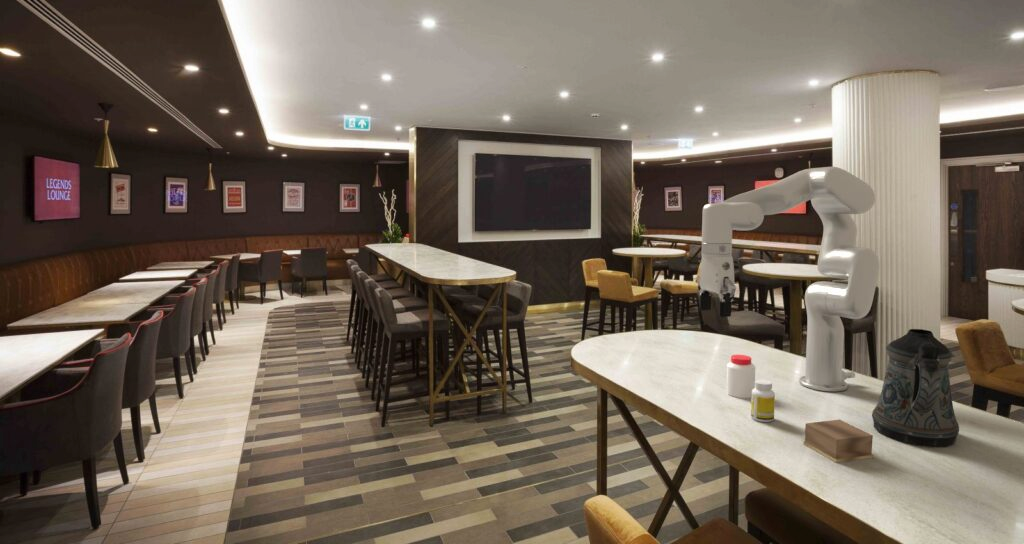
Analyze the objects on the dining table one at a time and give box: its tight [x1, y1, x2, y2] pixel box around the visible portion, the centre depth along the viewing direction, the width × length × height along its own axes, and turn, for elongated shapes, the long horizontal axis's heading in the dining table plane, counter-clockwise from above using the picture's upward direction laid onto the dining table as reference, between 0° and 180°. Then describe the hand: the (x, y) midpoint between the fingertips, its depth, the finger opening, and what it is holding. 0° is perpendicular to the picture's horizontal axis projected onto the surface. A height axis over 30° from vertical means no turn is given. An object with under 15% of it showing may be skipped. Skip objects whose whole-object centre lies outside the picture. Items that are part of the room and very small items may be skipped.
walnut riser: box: [802, 419, 874, 464], centre depth 119 cm, size 9×9×5 cm
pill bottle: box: [725, 354, 756, 399], centre depth 156 cm, size 8×8×11 cm
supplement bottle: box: [750, 379, 776, 423], centre depth 137 cm, size 5×5×10 cm
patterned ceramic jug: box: [871, 328, 960, 448], centre depth 124 cm, size 16×19×25 cm
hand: (714, 313), depth 144 cm, fingers open, 9 cm apart
